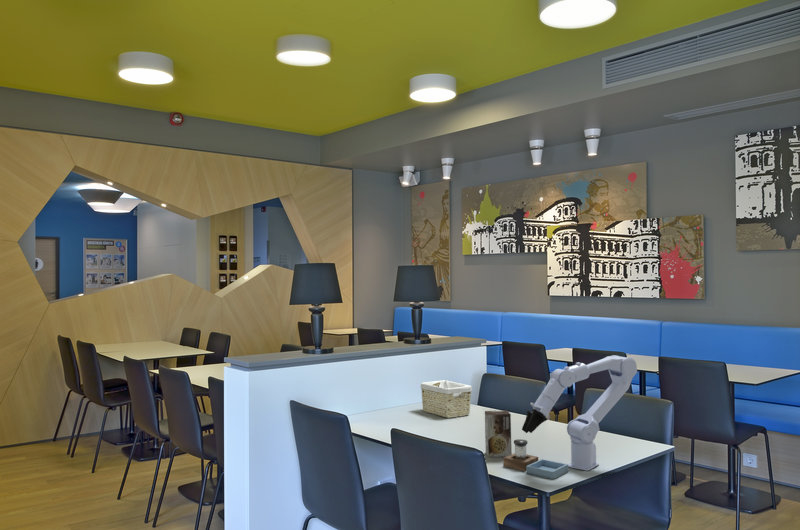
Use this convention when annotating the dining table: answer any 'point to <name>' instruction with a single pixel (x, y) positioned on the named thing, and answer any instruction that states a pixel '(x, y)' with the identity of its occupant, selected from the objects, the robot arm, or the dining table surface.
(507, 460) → the wooden square frame
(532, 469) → the slate-blue tray
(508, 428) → the coffee box
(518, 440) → the glass jar
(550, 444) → the dining table surface
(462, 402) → the storage basket
